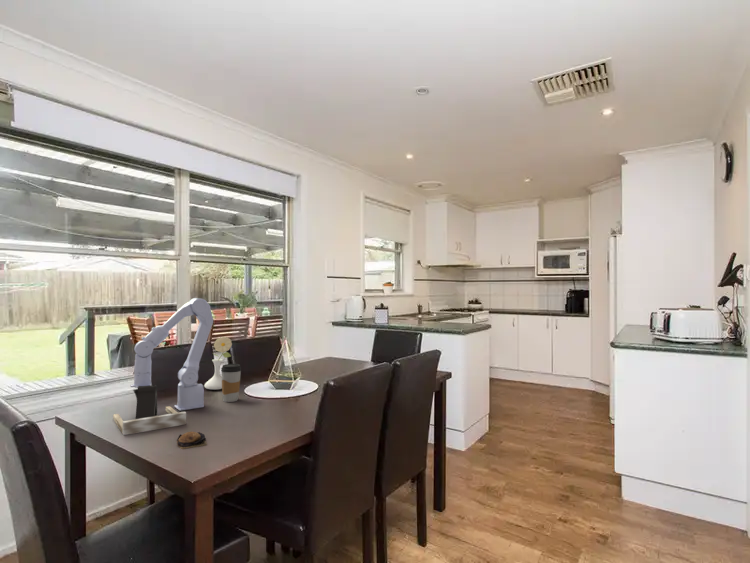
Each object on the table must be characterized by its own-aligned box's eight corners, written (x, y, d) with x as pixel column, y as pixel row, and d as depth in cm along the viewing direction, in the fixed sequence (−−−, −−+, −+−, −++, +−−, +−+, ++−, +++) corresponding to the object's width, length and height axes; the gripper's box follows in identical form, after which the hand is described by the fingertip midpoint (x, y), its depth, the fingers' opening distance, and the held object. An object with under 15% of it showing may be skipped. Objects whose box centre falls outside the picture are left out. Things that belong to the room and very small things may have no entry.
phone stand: (153, 421, 152) (154, 388, 153) (134, 423, 150) (135, 389, 151) (157, 414, 161) (158, 382, 161) (139, 416, 159) (140, 383, 159)
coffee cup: (244, 399, 184) (245, 364, 185) (228, 403, 177) (229, 367, 178) (232, 396, 189) (232, 362, 189) (216, 400, 182) (216, 365, 182)
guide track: (170, 410, 167) (170, 399, 167) (185, 424, 150) (186, 412, 150) (113, 418, 155) (113, 407, 155) (123, 435, 138) (123, 422, 138)
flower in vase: (199, 390, 199) (200, 337, 200) (212, 385, 210) (213, 334, 211) (224, 392, 197) (226, 338, 198) (236, 386, 208) (238, 335, 209)
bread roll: (208, 447, 131) (209, 435, 131) (178, 451, 126) (179, 439, 126) (202, 436, 140) (203, 425, 140) (174, 440, 135) (174, 428, 135)
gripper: (127, 370, 166) (126, 405, 166) (134, 376, 155) (133, 414, 154) (147, 368, 170) (146, 402, 170) (155, 374, 159) (154, 411, 159)
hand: (141, 408), depth 162 cm, fingers closed
